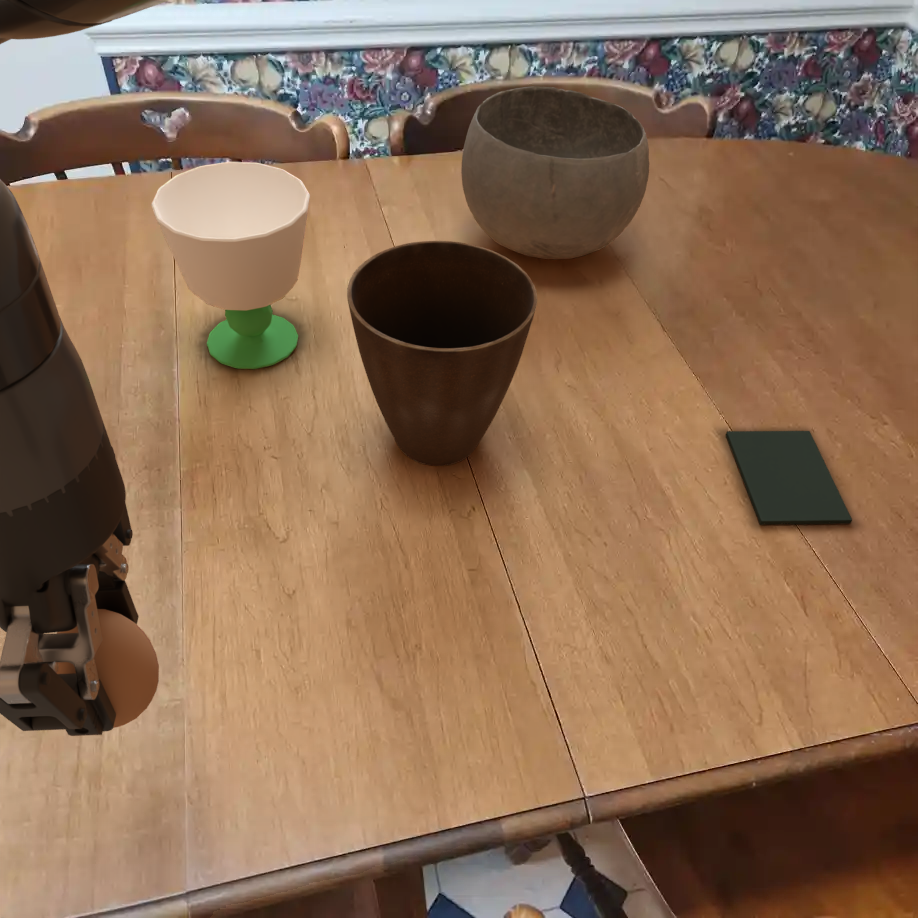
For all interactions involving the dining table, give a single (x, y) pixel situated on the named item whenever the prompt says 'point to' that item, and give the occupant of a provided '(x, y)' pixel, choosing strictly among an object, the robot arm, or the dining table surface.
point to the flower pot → (440, 341)
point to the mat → (787, 478)
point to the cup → (238, 252)
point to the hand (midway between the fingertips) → (106, 672)
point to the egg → (123, 665)
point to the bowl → (553, 171)
